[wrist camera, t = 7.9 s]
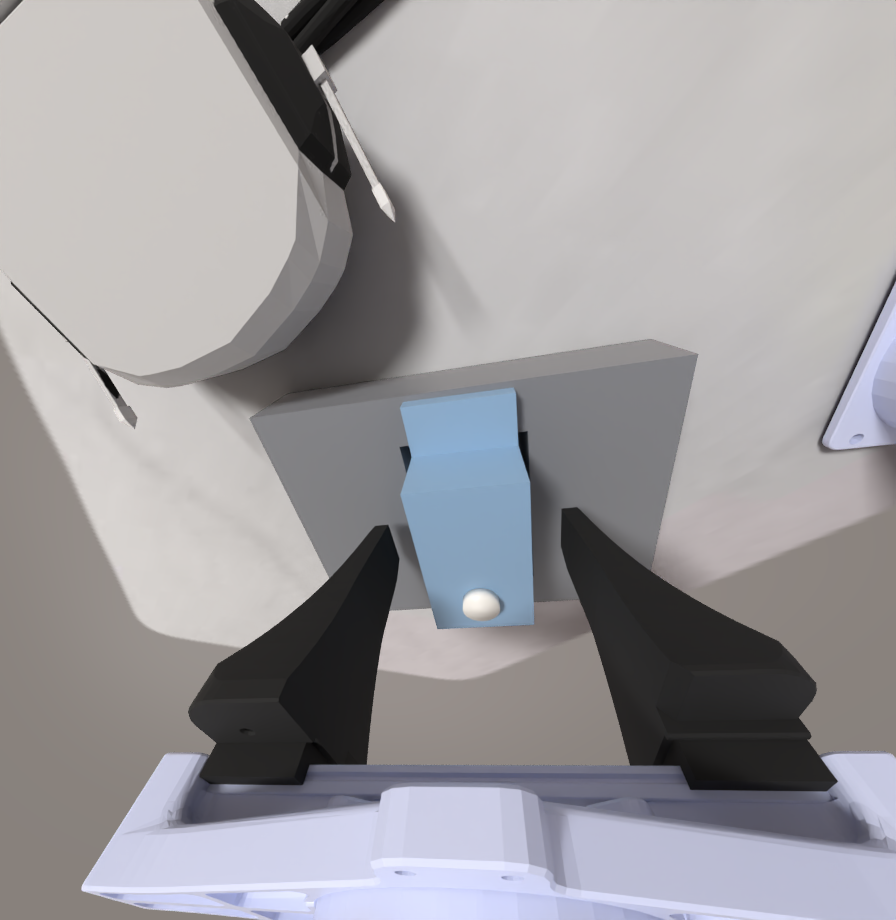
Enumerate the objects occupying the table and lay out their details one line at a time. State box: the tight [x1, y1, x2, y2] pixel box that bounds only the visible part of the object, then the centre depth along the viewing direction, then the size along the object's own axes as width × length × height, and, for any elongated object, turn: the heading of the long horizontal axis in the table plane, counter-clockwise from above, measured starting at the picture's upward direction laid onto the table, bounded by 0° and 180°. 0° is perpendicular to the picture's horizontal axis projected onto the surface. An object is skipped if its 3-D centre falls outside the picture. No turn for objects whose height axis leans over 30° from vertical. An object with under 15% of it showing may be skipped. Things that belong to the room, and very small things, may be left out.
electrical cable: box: [279, 0, 384, 55], centre depth 9 cm, size 12×1×1 cm, turn 117°
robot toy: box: [0, 0, 395, 429], centre depth 9 cm, size 12×4×15 cm
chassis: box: [250, 339, 698, 611], centre depth 15 cm, size 16×12×3 cm
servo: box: [400, 387, 534, 629], centre depth 14 cm, size 4×11×6 cm, turn 9°
